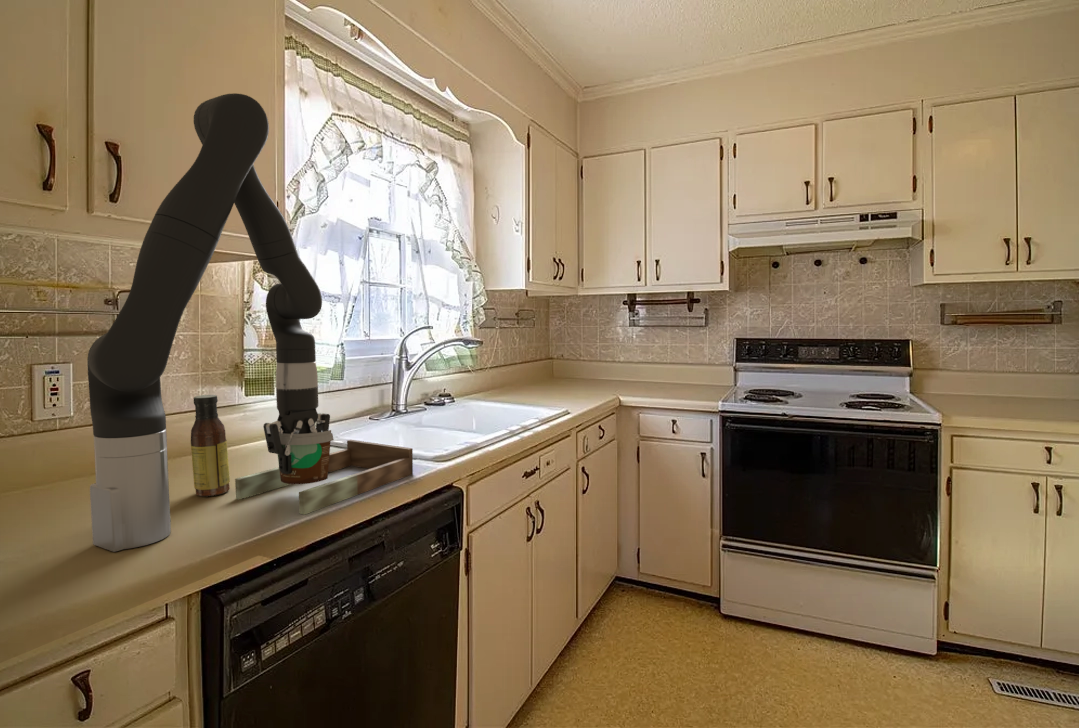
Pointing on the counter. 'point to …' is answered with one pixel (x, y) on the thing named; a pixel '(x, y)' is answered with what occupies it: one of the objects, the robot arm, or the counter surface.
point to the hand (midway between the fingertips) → (300, 469)
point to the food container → (307, 457)
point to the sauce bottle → (209, 449)
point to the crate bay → (382, 470)
